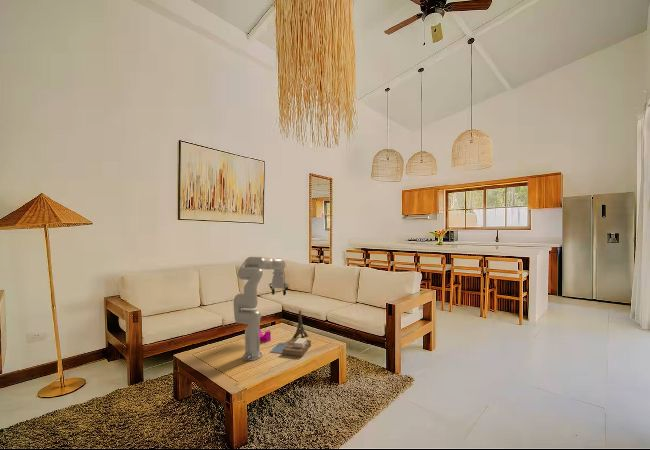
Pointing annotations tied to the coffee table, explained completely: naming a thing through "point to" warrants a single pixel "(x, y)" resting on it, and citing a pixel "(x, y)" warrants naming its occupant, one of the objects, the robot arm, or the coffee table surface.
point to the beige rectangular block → (300, 342)
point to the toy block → (264, 336)
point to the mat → (278, 348)
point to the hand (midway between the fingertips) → (278, 294)
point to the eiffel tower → (300, 328)
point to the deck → (295, 349)
